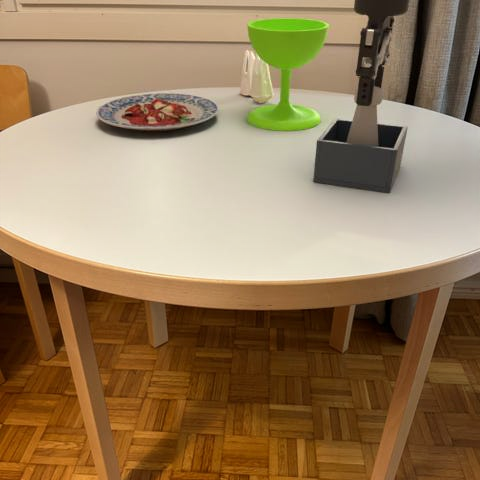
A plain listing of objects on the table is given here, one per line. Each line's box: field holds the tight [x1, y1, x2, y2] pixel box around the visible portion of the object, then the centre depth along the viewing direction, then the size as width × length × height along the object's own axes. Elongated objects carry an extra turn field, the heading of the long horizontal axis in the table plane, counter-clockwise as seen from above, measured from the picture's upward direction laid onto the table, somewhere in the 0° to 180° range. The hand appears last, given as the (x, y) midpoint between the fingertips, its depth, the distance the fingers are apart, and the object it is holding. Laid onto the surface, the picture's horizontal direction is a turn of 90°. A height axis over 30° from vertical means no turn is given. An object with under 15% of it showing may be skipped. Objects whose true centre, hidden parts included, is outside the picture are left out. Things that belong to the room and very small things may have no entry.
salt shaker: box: [346, 86, 384, 147], centre depth 85 cm, size 6×6×13 cm
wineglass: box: [246, 17, 330, 132], centre depth 109 cm, size 16×16×18 cm
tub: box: [312, 118, 409, 194], centre depth 87 cm, size 12×12×7 cm
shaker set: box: [239, 49, 275, 104], centre depth 123 cm, size 12×4×11 cm, turn 22°
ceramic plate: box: [95, 92, 219, 132], centre depth 113 cm, size 26×26×3 cm
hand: (368, 98), depth 82 cm, fingers open, 8 cm apart
